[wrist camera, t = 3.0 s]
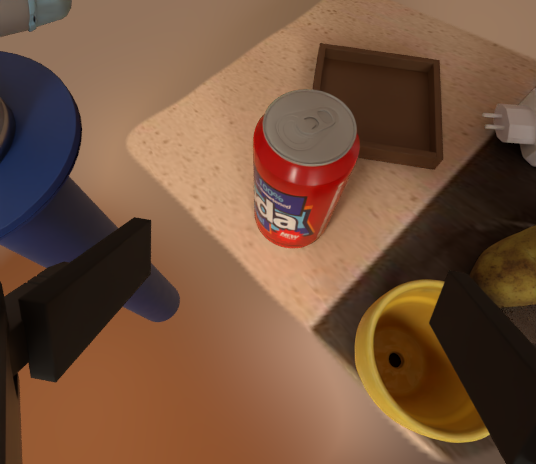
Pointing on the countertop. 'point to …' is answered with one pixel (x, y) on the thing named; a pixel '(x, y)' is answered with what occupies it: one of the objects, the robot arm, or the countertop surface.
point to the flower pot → (414, 366)
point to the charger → (517, 125)
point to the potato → (509, 270)
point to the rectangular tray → (387, 102)
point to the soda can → (301, 165)
